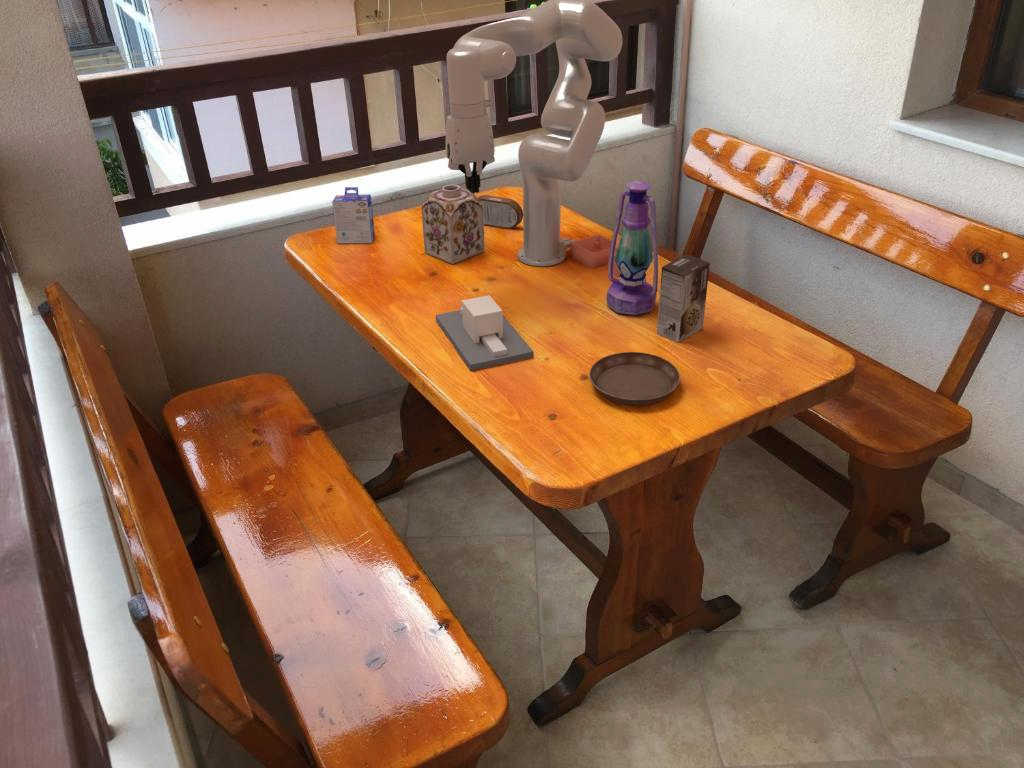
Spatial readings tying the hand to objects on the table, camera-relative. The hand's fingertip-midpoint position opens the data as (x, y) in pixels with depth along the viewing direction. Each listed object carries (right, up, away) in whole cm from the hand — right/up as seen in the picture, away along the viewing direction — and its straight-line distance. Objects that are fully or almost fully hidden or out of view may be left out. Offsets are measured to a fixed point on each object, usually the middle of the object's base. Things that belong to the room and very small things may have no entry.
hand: (473, 191), depth 194 cm
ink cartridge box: (-34, -4, +43) cm, 55 cm away
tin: (+4, +1, +50) cm, 50 cm away
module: (+2, -32, -6) cm, 33 cm away
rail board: (+2, -33, -6) cm, 34 cm away
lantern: (+36, -25, +6) cm, 45 cm away
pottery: (+33, -13, +27) cm, 44 cm away
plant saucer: (+33, -44, -23) cm, 60 cm away
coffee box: (+46, -32, -4) cm, 56 cm away
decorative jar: (-7, -9, +34) cm, 36 cm away
